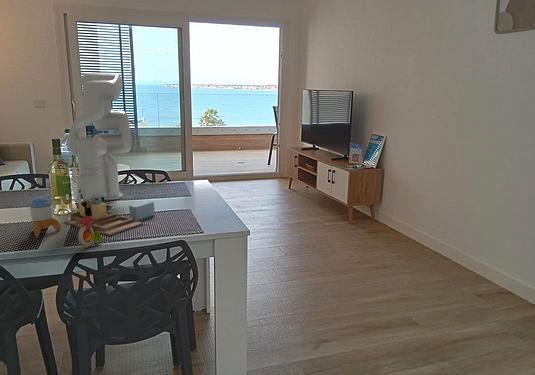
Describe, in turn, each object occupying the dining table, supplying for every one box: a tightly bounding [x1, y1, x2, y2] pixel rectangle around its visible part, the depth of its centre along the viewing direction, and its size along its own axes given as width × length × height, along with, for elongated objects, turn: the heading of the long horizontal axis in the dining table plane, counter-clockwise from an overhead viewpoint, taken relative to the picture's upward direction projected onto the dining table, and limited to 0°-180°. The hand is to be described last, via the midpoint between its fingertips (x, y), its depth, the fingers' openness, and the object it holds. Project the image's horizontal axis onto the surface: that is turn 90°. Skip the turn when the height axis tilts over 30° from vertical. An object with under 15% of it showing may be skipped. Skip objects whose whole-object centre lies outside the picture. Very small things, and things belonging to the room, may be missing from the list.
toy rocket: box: [29, 196, 62, 239], centre depth 159 cm, size 10×11×15 cm
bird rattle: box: [77, 216, 104, 249], centre depth 147 cm, size 6×11×9 cm
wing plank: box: [128, 200, 156, 222], centre depth 180 cm, size 4×10×6 cm, turn 148°
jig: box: [63, 210, 144, 237], centre depth 171 cm, size 28×16×3 cm, turn 58°
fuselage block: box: [78, 199, 108, 219], centre depth 173 cm, size 12×4×7 cm, turn 58°
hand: (93, 214), depth 173 cm, fingers closed on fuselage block, 4 cm apart
